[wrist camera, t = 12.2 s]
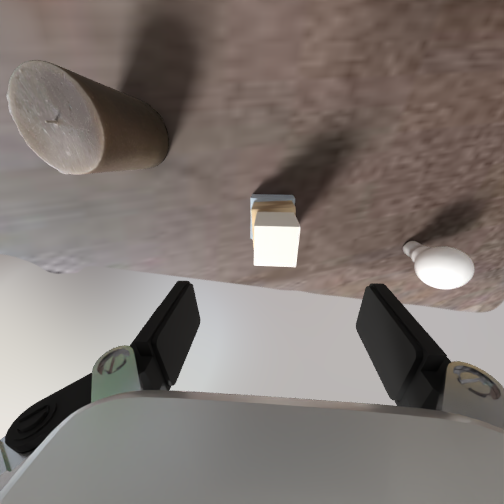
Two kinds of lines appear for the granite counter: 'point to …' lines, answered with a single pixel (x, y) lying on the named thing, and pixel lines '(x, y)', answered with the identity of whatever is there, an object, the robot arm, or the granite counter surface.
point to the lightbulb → (440, 265)
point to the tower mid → (271, 209)
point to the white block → (276, 239)
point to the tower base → (269, 198)
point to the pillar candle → (83, 122)
